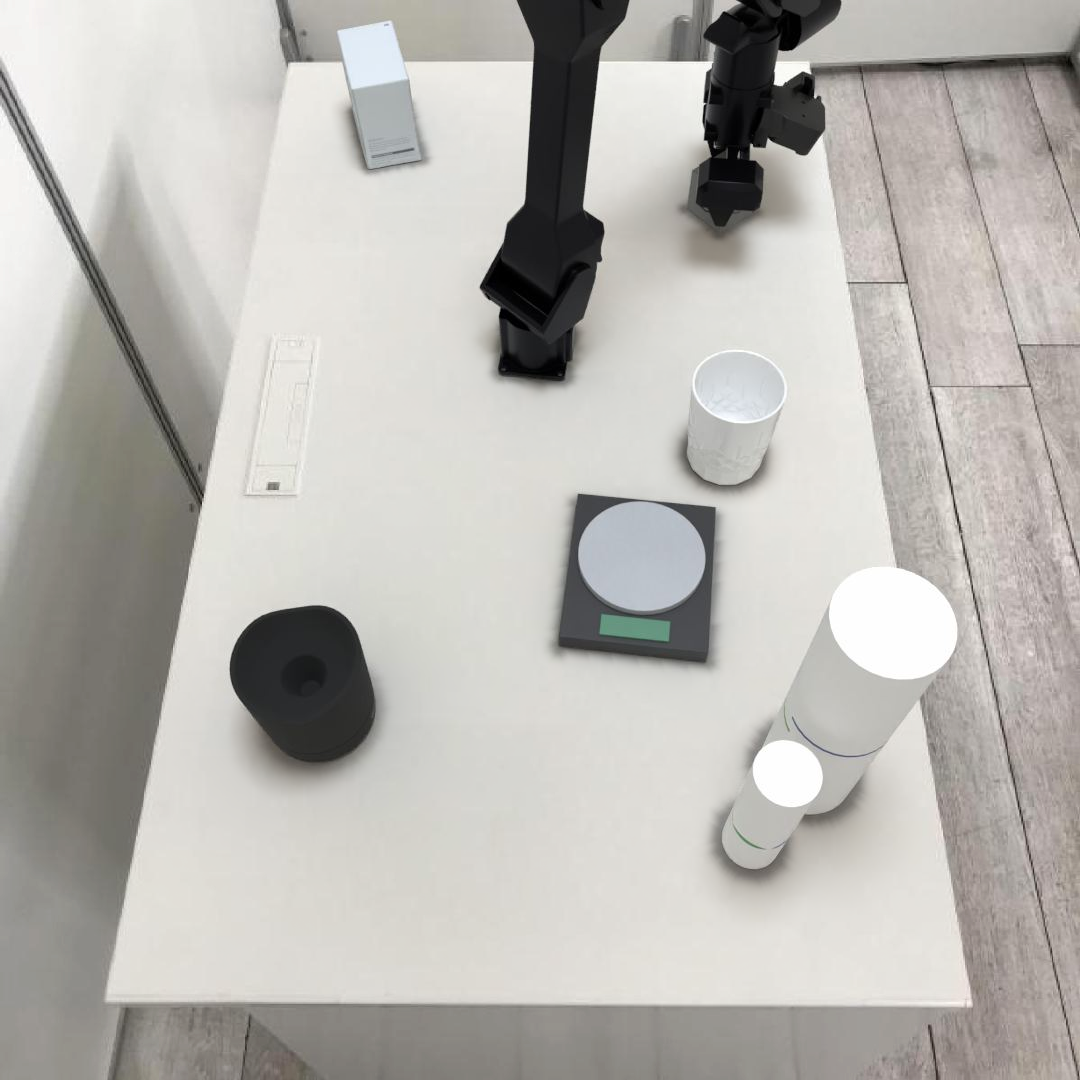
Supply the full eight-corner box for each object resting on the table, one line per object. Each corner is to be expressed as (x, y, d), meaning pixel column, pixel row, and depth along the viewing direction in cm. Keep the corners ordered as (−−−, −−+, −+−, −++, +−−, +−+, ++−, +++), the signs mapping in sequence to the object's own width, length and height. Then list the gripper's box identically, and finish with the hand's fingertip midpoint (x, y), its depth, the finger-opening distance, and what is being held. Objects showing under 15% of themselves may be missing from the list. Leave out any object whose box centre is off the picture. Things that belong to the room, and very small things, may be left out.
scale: (558, 646, 87) (558, 632, 85) (577, 504, 95) (578, 487, 92) (705, 662, 86) (709, 648, 84) (713, 517, 94) (717, 501, 91)
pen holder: (332, 791, 81) (306, 745, 73) (238, 730, 84) (202, 679, 76) (404, 694, 85) (387, 639, 77) (312, 638, 88) (285, 580, 80)
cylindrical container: (793, 831, 79) (880, 700, 58) (740, 749, 83) (804, 598, 61) (871, 787, 81) (984, 645, 59) (816, 709, 84) (904, 547, 63)
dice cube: (719, 233, 112) (725, 196, 108) (686, 208, 114) (691, 170, 110) (753, 212, 113) (761, 174, 109) (720, 187, 116) (727, 149, 111)
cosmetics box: (351, 112, 123) (334, 27, 114) (406, 102, 124) (394, 18, 115) (365, 171, 118) (349, 87, 109) (422, 161, 119) (411, 77, 110)
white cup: (762, 498, 95) (783, 429, 86) (674, 484, 96) (686, 415, 87) (771, 428, 99) (791, 356, 90) (686, 415, 100) (698, 343, 91)
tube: (717, 813, 80) (747, 743, 67) (773, 808, 80) (814, 737, 67) (727, 871, 78) (760, 810, 65) (785, 866, 78) (829, 803, 65)
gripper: (831, 143, 94) (798, 272, 107) (829, 16, 104) (798, 150, 117) (705, 134, 95) (687, 263, 108) (714, 9, 104) (696, 143, 118)
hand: (721, 203), depth 113 cm, fingers closed on dice cube, 6 cm apart
